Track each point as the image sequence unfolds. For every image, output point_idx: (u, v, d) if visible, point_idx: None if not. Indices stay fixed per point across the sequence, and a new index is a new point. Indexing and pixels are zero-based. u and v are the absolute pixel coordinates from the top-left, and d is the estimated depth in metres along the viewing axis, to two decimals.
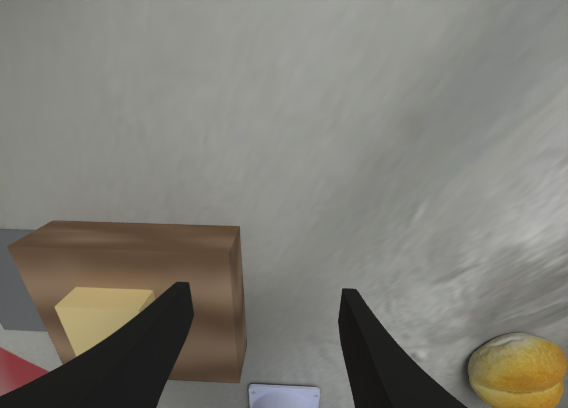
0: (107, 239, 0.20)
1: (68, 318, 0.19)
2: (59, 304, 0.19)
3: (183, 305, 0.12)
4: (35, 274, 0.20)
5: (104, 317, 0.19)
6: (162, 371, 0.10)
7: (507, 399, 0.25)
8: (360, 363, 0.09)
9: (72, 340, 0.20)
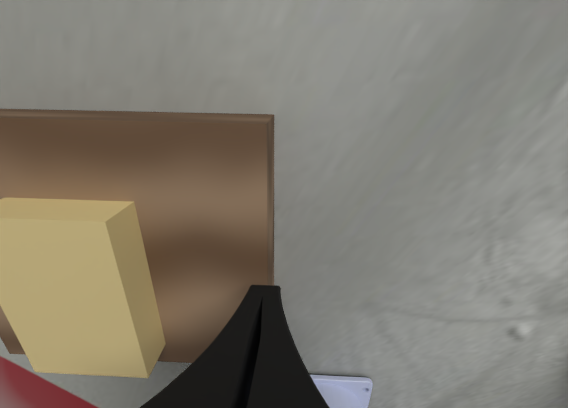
0: (58, 115, 0.12)
1: None
2: None
3: None
4: None
5: (44, 237, 0.11)
6: (252, 376, 0.10)
7: None
8: None
9: None
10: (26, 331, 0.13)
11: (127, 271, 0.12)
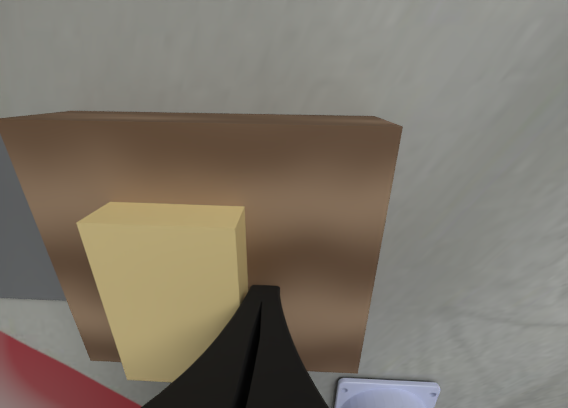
0: (171, 118, 0.12)
1: (100, 247, 0.10)
2: (85, 220, 0.10)
3: None
4: (45, 177, 0.12)
5: (167, 244, 0.10)
6: None
7: None
8: None
9: (104, 291, 0.11)
10: (127, 339, 0.12)
11: (240, 278, 0.11)
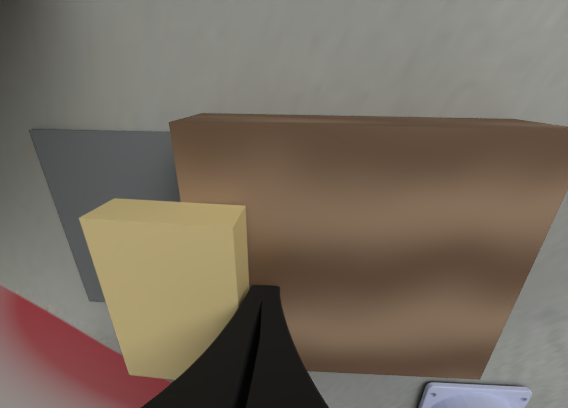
0: (334, 121, 0.11)
1: (102, 243, 0.11)
2: (87, 215, 0.10)
3: None
4: (206, 181, 0.11)
5: (166, 241, 0.10)
6: None
7: None
8: None
9: (106, 287, 0.12)
10: (128, 334, 0.13)
11: (239, 278, 0.11)
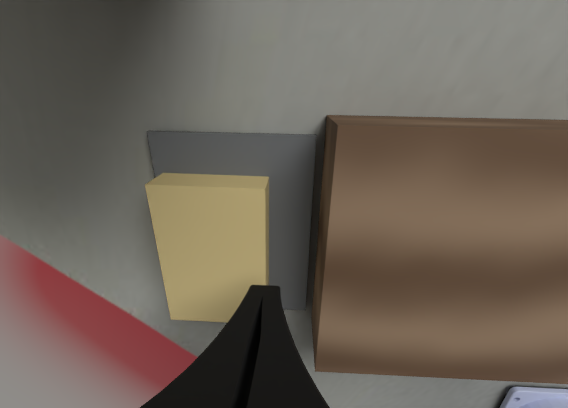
0: (492, 124, 0.11)
1: None
2: (265, 177, 0.15)
3: None
4: (362, 185, 0.11)
5: None
6: (252, 376, 0.10)
7: None
8: None
9: None
10: None
11: None
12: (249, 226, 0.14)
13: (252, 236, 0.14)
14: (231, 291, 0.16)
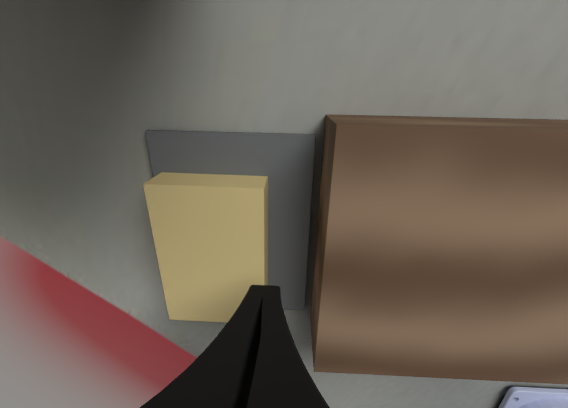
0: (491, 124, 0.11)
1: None
2: (264, 177, 0.15)
3: None
4: (361, 185, 0.11)
5: None
6: (252, 376, 0.10)
7: None
8: None
9: None
10: None
11: None
12: (247, 226, 0.14)
13: (250, 235, 0.14)
14: (230, 291, 0.16)
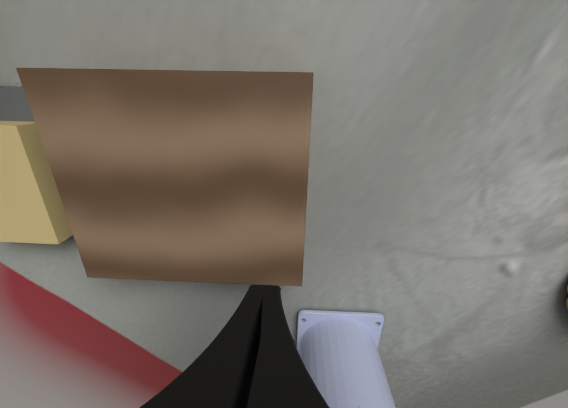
0: None
1: None
2: None
3: None
4: (53, 115, 0.15)
5: None
6: (252, 376, 0.10)
7: None
8: None
9: None
10: None
11: None
12: (15, 157, 0.18)
13: (20, 165, 0.19)
14: (22, 215, 0.20)
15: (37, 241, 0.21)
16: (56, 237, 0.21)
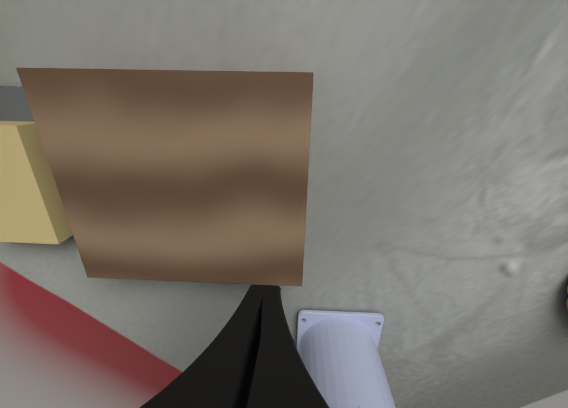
0: None
1: None
2: None
3: None
4: (53, 115, 0.15)
5: None
6: (252, 376, 0.10)
7: None
8: None
9: None
10: None
11: None
12: (15, 157, 0.18)
13: (20, 165, 0.19)
14: (22, 215, 0.20)
15: (37, 241, 0.21)
16: (56, 237, 0.21)
